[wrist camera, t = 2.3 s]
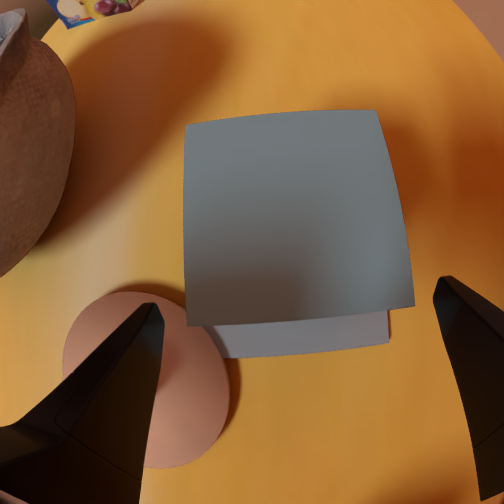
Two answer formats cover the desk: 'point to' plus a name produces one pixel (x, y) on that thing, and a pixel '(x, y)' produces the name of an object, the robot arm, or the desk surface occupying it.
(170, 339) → the saucer
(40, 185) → the ceramic bowl
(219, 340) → the rubber mat
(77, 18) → the juice carton
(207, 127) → the grey blue block
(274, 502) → the desk surface
